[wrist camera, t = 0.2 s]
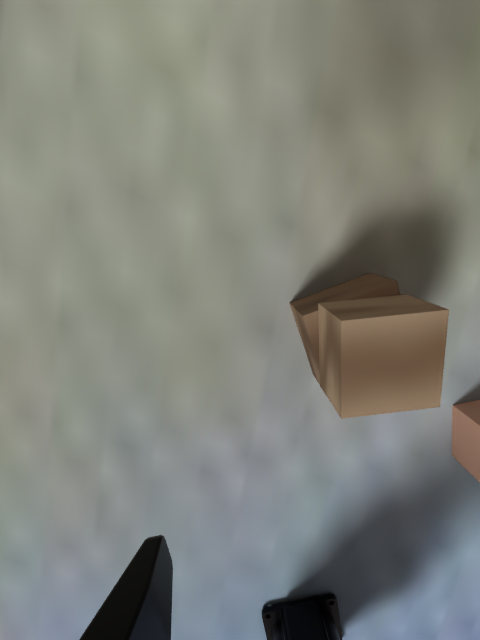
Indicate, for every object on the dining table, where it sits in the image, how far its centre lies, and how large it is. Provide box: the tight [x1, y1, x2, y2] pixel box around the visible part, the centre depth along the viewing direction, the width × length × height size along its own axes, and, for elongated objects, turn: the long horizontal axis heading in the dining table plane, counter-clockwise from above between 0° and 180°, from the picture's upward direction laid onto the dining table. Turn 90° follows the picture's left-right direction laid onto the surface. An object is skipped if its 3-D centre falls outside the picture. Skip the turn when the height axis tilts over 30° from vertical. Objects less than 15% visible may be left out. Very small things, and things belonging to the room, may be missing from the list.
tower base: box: [290, 273, 400, 384], centre depth 21 cm, size 6×6×4 cm
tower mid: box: [318, 294, 449, 418], centre depth 18 cm, size 5×5×4 cm
